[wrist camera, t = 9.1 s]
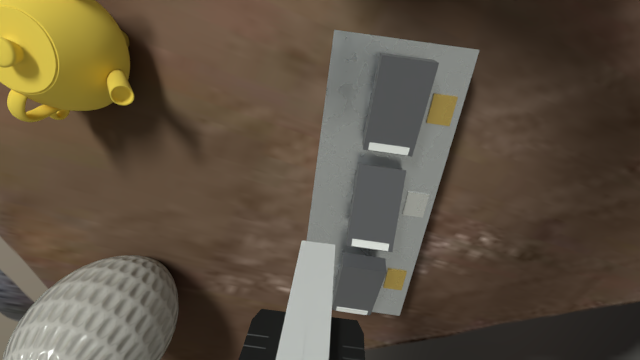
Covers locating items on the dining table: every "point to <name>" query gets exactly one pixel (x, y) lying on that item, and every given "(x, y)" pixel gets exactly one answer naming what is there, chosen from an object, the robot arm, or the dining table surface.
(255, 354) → the robot arm
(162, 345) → the vase
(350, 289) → the switch
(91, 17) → the teapot
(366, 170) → the switch
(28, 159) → the dining table surface
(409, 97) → the switch
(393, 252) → the console
